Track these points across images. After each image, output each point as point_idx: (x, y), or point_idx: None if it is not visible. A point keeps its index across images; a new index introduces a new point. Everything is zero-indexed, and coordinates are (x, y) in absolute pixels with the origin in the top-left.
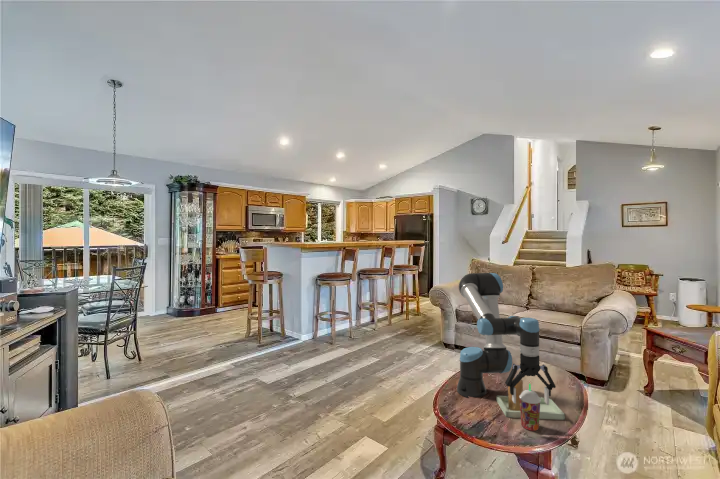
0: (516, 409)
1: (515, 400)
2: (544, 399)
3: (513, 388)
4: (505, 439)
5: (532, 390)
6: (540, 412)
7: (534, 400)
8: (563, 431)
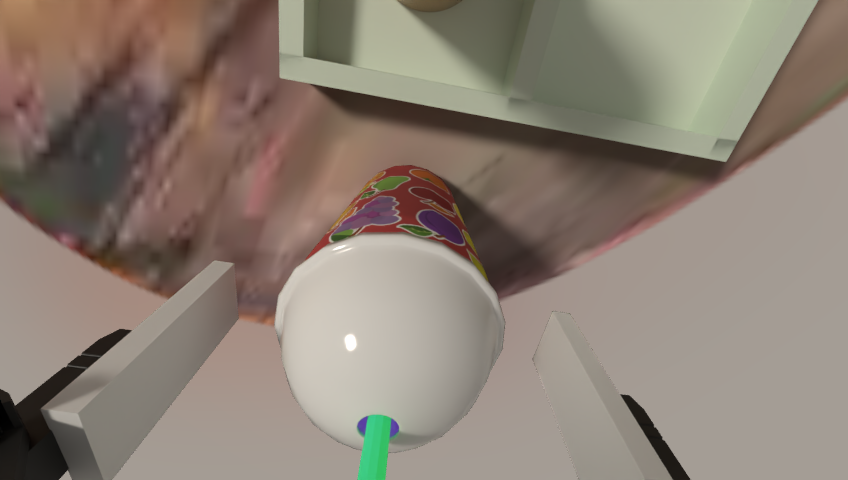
0: (408, 3)
1: (216, 339)
2: (559, 329)
3: (77, 455)
4: (235, 277)
5: (426, 416)
6: (561, 119)
7: (391, 423)
8: (582, 241)
